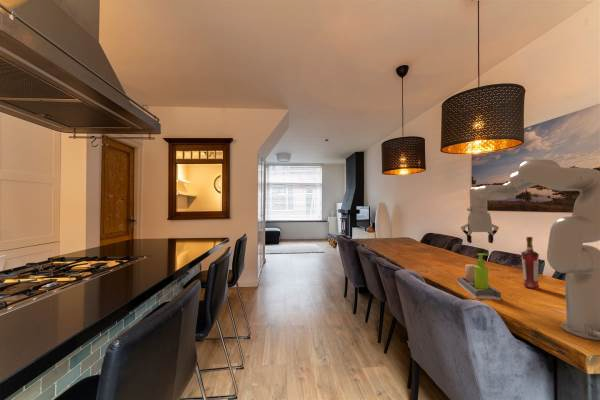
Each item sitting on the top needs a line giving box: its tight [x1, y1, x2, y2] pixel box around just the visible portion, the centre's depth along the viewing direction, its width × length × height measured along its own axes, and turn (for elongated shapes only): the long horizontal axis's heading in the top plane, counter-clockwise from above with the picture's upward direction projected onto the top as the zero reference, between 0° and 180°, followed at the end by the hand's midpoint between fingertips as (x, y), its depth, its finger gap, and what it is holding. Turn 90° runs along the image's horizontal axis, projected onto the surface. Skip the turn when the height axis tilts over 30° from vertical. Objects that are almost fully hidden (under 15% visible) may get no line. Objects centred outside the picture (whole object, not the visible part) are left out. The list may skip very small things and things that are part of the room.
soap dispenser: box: [474, 252, 490, 290], centre depth 137 cm, size 6×7×20 cm
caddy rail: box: [457, 263, 502, 301], centre depth 143 cm, size 26×11×12 cm, turn 166°
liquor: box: [520, 236, 540, 290], centre depth 146 cm, size 7×7×28 cm
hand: (480, 242), depth 138 cm, fingers open, 9 cm apart
